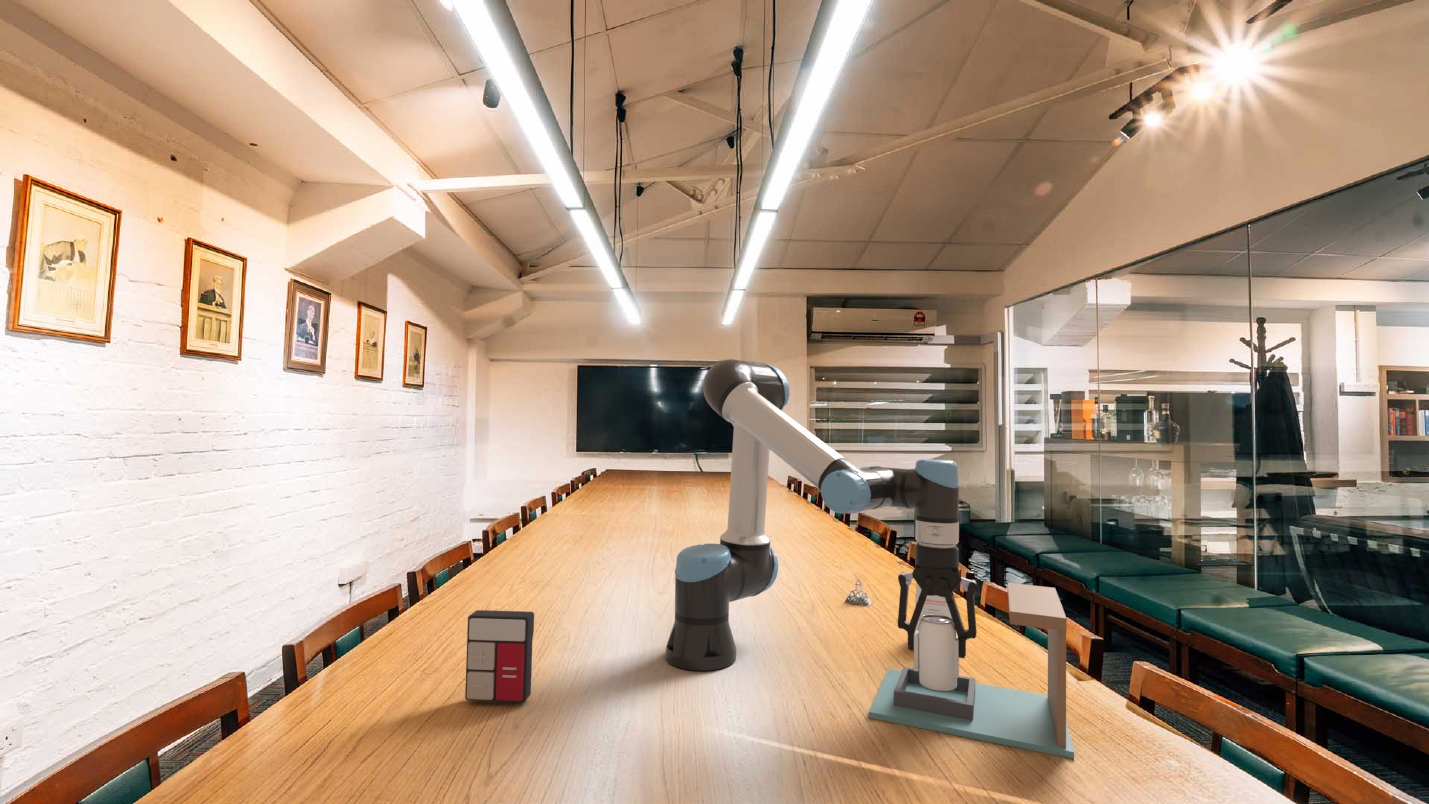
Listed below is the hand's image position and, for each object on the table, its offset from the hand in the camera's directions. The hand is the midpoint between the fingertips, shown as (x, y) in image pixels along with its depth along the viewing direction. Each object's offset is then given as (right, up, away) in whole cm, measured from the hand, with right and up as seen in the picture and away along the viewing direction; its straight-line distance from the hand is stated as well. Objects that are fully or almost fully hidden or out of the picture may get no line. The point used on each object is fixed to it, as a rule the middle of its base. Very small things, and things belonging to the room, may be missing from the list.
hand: (936, 671), depth 117 cm
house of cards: (+2, -9, +65) cm, 65 cm away
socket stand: (+5, -6, -2) cm, 8 cm away
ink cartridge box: (+11, -8, +32) cm, 35 cm away
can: (0, -3, 0) cm, 3 cm away
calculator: (-79, -4, -1) cm, 80 cm away
